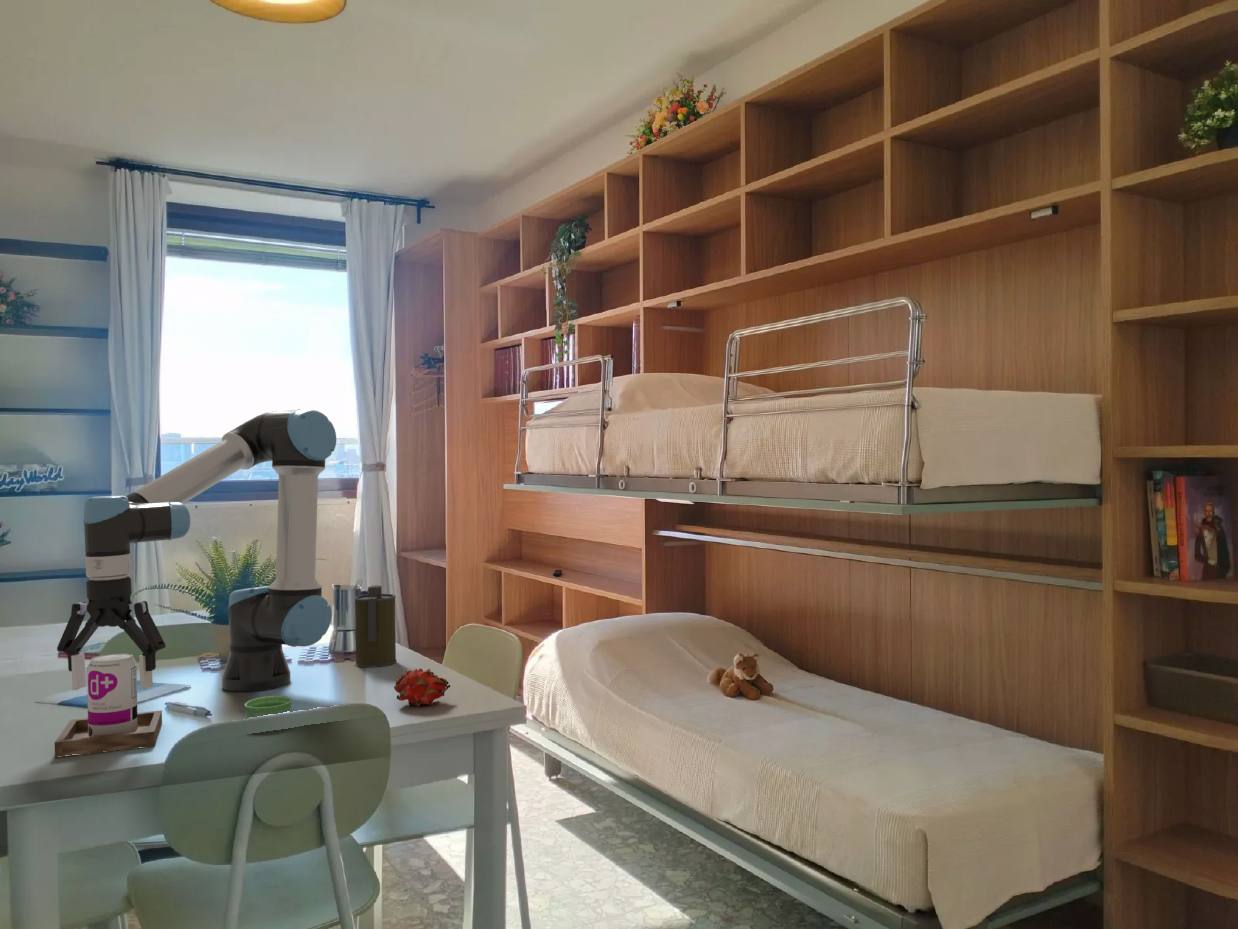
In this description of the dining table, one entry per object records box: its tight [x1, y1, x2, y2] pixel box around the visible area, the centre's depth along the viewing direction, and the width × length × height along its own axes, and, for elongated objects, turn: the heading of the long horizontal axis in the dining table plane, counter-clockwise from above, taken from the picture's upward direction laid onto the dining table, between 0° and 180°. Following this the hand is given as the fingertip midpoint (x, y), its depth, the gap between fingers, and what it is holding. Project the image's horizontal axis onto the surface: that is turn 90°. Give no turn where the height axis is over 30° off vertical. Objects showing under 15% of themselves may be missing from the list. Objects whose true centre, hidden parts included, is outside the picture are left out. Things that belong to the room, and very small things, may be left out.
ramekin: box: [244, 695, 293, 719], centre depth 186 cm, size 9×9×4 cm
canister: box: [354, 584, 397, 669], centre depth 239 cm, size 11×10×20 cm
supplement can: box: [86, 652, 138, 737], centre depth 175 cm, size 8×8×15 cm
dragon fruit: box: [393, 668, 451, 707], centre depth 198 cm, size 8×8×12 cm
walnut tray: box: [54, 710, 163, 758], centre depth 175 cm, size 16×16×3 cm
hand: (112, 688), depth 175 cm, fingers open, 13 cm apart
